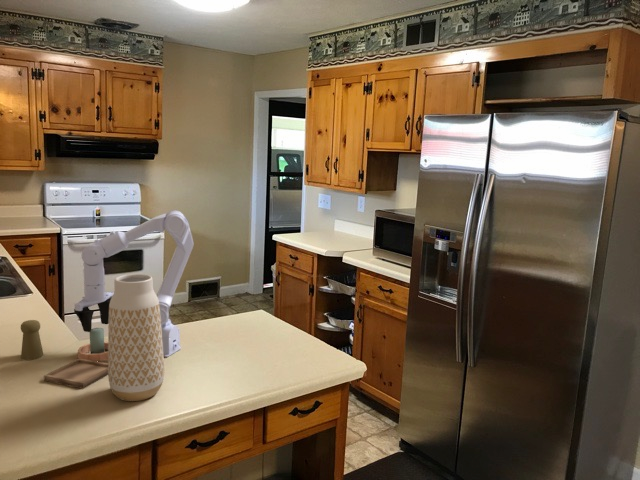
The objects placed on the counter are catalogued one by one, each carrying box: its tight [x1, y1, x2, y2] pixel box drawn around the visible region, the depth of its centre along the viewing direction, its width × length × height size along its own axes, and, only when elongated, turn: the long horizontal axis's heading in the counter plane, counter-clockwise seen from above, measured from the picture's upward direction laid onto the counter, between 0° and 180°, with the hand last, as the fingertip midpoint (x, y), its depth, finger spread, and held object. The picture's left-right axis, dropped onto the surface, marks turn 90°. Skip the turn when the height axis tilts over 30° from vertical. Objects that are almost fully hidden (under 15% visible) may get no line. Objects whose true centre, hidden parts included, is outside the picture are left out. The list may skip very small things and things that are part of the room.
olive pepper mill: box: [20, 319, 45, 361], centre depth 161 cm, size 6×6×11 cm
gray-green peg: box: [89, 327, 106, 354], centre depth 164 cm, size 4×4×8 cm
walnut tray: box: [43, 358, 108, 389], centre depth 150 cm, size 13×13×2 cm
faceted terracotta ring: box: [77, 341, 108, 362], centre depth 164 cm, size 11×11×2 cm
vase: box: [107, 273, 165, 402], centre depth 138 cm, size 14×14×31 cm
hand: (96, 327), depth 163 cm, fingers open, 7 cm apart
